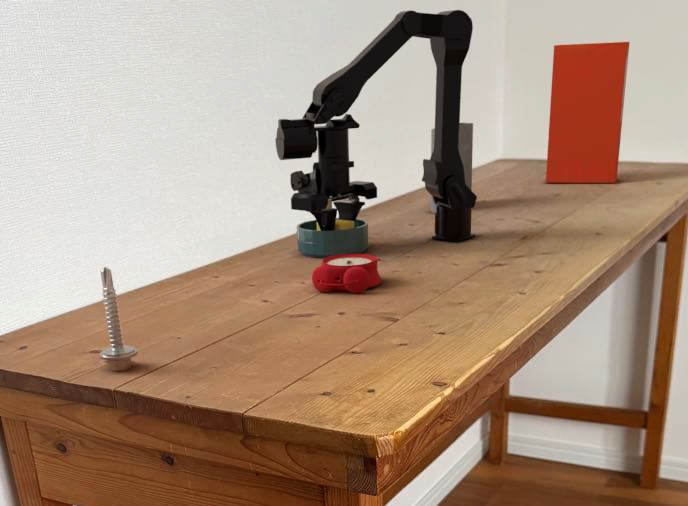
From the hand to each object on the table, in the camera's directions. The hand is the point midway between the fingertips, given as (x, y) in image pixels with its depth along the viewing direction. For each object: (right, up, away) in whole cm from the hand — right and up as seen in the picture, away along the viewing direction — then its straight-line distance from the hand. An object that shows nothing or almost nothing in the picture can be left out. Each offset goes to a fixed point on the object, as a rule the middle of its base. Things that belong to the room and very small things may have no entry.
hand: (336, 243), depth 181 cm
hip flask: (+27, +21, +39) cm, 52 cm away
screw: (-29, -35, -58) cm, 74 cm away
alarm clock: (+2, -15, -25) cm, 29 cm away
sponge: (0, -1, +1) cm, 1 cm away
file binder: (+65, +37, +65) cm, 99 cm away
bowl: (-1, -1, +1) cm, 2 cm away
